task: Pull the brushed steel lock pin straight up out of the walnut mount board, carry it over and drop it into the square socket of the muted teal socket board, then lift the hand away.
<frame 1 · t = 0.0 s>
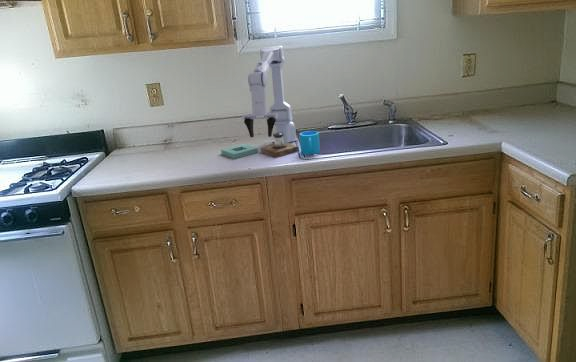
hand: (260, 136, 182), 11 cm above the worktop, tool pointing down, fingers open, 7 cm apart
socket board: (239, 153, 202), on the worktop
lock pin: (279, 142, 197), in the mount board
mug: (310, 153, 192), on the worktop
mount board: (279, 151, 198), on the worktop
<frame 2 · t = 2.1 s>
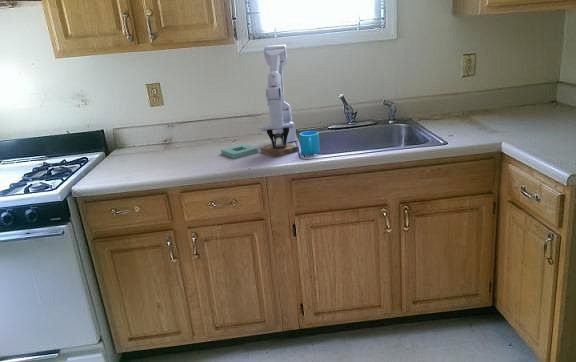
hand: (279, 145, 197), 3 cm above the worktop, tool pointing down, fingers closed on lock pin, 4 cm apart
lock pin: (279, 142, 197), in the mount board, touching gripper
everything else where it was.
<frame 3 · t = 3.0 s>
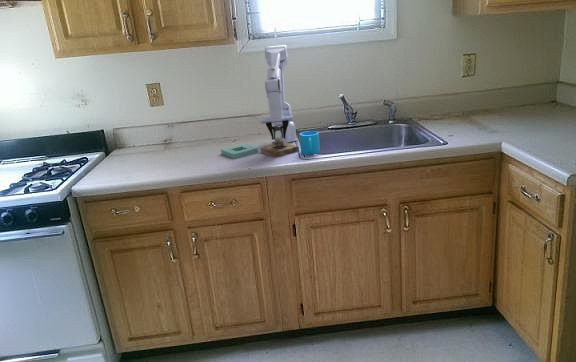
hand: (278, 138, 196), 6 cm above the worktop, tool pointing down, fingers closed on lock pin, 4 cm apart
lock pin: (278, 135, 196), point 7 cm above the worktop, touching gripper
everything else where it was.
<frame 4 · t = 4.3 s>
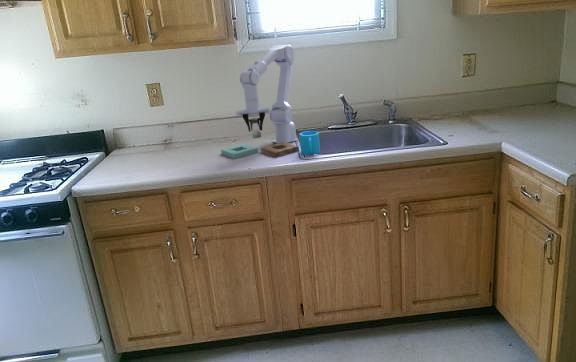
hand: (255, 130, 197), 10 cm above the worktop, tool pointing down, fingers closed on lock pin, 4 cm apart
lock pin: (255, 128, 196), point 11 cm above the worktop, touching gripper
everything else where it was.
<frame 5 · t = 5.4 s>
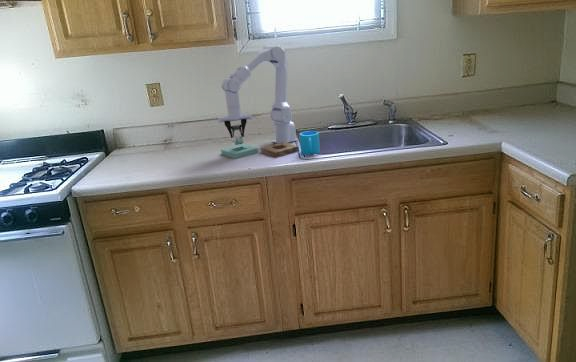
hand: (237, 136, 199), 8 cm above the worktop, tool pointing down, fingers closed on lock pin, 4 cm apart
lock pin: (237, 134, 199), point 8 cm above the worktop, touching gripper
everything else where it was.
when the fingers open (4 cm above the worktop, at t = 6.5 s): lock pin stays where it is, resting in socket board.
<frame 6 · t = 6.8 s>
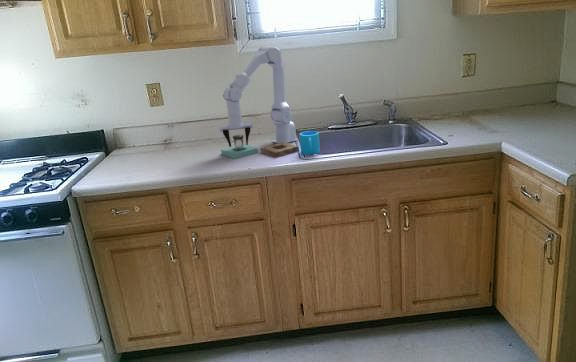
hand: (238, 145, 201), 4 cm above the worktop, tool pointing down, fingers open, 7 cm apart
lock pin: (239, 144, 200), in the socket board
everything else where it was.
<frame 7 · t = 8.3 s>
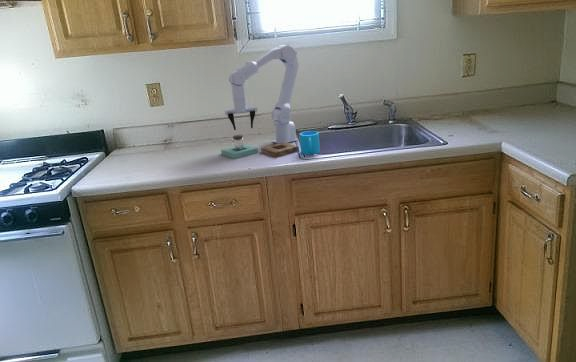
hand: (243, 128, 205), 9 cm above the worktop, tool pointing down, fingers open, 7 cm apart
nothing on the worktop moved.
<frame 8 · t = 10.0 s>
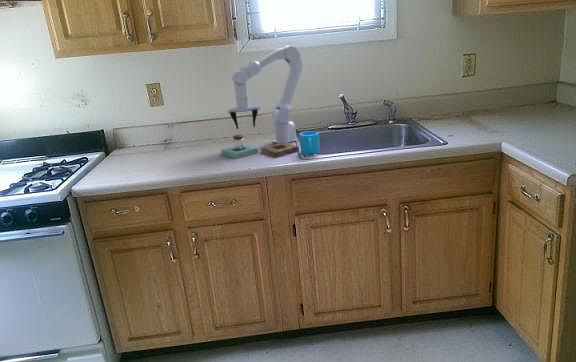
hand: (245, 127, 208), 9 cm above the worktop, tool pointing down, fingers open, 7 cm apart
nothing on the worktop moved.
at the end: lock pin 0.3 cm off-centre on the socket board, point 4.0 cm above the socket board's base; lock pin tilted 0°; the gripper is holding nothing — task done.
